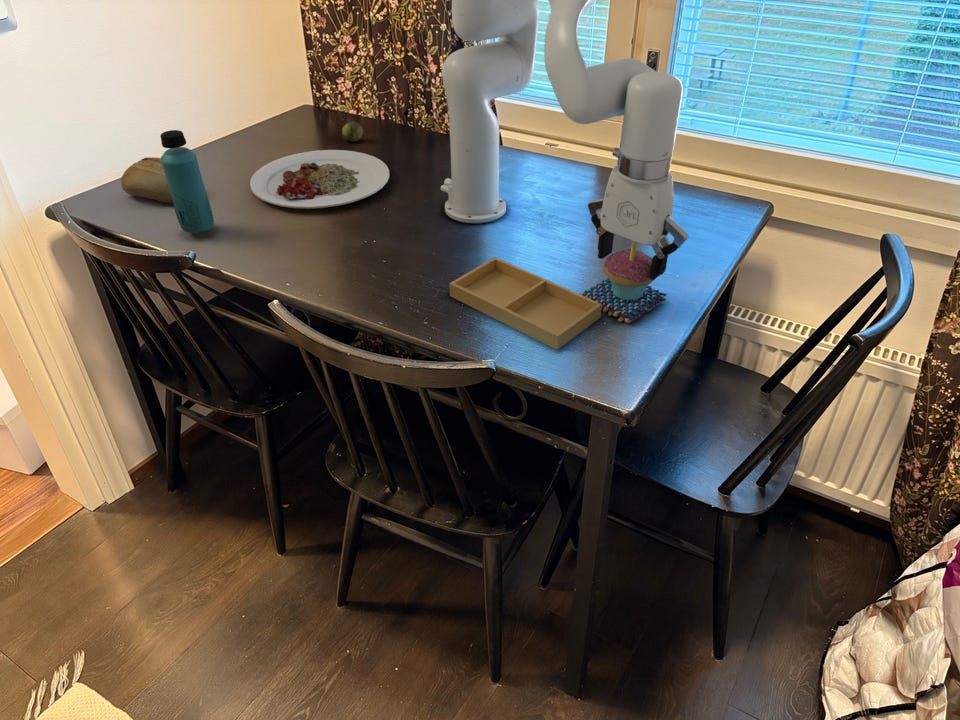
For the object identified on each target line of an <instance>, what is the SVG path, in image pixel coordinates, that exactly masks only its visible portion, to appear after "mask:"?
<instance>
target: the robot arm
mask: <svg viewBox="0 0 960 720" xmlns="http://www.w3.org/2000/svg"><path fill="white" fill-rule="evenodd" d="M596 1H597V0H548V3H549V6H550V14H549V18H548V21H547V24H546V28H545V34H544V44H543V45H544V48H543V52H544V53H543V54H544V66H545V70H546V74H547V77H548V79H549V83H550V85H551V88H552V90H553V92H554V95H555V98H556V100H557V102H558V105H559V106H560V108H561V110H562V111H563V113H564V114H565V116H566V117H567V118H568V119H570V120H571V121H572V122H574V123H576V124H579V125H590V124H593V123H597V122H601V121H605V120H608V119H612V118H615V117H621V116H623V119H622V129H621V138H620V146H619V147H617V146H616V147H614V148H613V149H612V156H613V157H615V158H616V159H617V163H616V165H615V166H613V167H612V169H611V172H610V174H609V177H608V180H607V183H606V184H607V185H606V187H605V191H604V196H603V198H600V199H595V200H592V201H591V202H589V203H588V204H587V208H588V211H589V214H590V216H591V218H590V221H591V222H592V224H593V226H594V227H595V229H596V230H595V233H596V235H597V236H598V242H597V250H598V251H597V258H598V259H599V260H603V259H604V258H606V257H607V256H608V255H609V256H610V254H613V253H612V252H613V247H614V240H615V235H616V236H618V237H621V238H624V239H625V240H626V239H627V240H629V241H631V242H632V241H634V242H636V244H640V245H643V246H648V247H651V248H652V250H653V252H654V254H655V255H654V256H652V257H651V258H652V263H651V269H650V276H649V278H650V279H652V280H654V279H655V280H656V279H657V278H658V277H660V276H661V275H663V274H664V273H665V272H666V270H667V264H668V259H669V258H668V257H669V256H670V255H671V254H673V253H675V252H676V251H678V250H680V248H681V247H682V245H684V244H685V242H686V241H688V239H689V238H690V237H689V234H688V233H687V232H686V231H685V229H683V228H682V227H681V226H680V224H678V223H677V222H676V221H675V220H674V219H673V218H672V217H673V208H674V179H673V178H674V177H673V175H672V174H670V172H671V166H672V160H673V154H674V148H675V142H676V138H677V137H676V135H677V129H678V124H679V117H680V112H681V105H682V100H683V92H684V87H683V86H684V85H683V83H682V81H681V80H680V79H679V78H678V77H676V76H675V75H672V74H670V73H666V72H658V71H657V70H655V69H653V68H651V67H650V66H649V65H647V64H646V63H644V62H643V61H641V60H639V59H636V58H630V57H629V58H621V59H617V60H613V61H608V62H602V63H599V64H595V65H590V66H587V64H586V62H585V60H584V56H583V54H582V51H581V49H580V45H579V39H578V25H579V20H580V17H581V14H582V13H583V12H585V11H586V10H587V9H588V8H590V7H591V6H592V5H593V4H594V3H595V2H596ZM451 20H452V27H453V30H454V32H455V34H456V36H458V38H460V39H461V40H463V41H466V42H479V41H481V42H482V41H487V40H492V39H498V41H493V42H488V43H482V44H476V45H472V46H471V45H470V46H467V47H463V48H460V49H457V50H455V51H454V52H452V53H450V54H449V55H448V56H447V57H446V59H445V60H444V62H443V66H442V69H441V77H442V79H441V80H442V85H443V88H444V93H445V98H446V105H447V112H448V123H449V125H448V126H449V145H450V147H449V149H450V175H451V178H449V177H447V178H445V180H444V181H443V184H441V186H440V191H441V192H443V193H445V194H447V196H448V198H447V200H446V201H445V203H444V212H445V214H446V216H448V217H449V218H451V219H452V220H455V221H456V222H460V223H464V224H465V223H466V224H484V223H490V222H493V221H496V220H498V219H500V218H502V217H503V216H504V215H505V214H506V212H507V203H506V201H505V200H504V199H503V198H502V197H501V196H500V124H499V122H500V121H499V119H498V117H497V115H496V114H495V112H494V110H493V109H492V107H491V105H490V102H491V101H492V100H495V99H497V98H501V97H502V98H503V97H506V96H511V95H515V94H517V93H519V92H522V91H524V90H525V89H527V88H528V86H529V85H530V84H531V81H532V79H533V76H534V71H535V70H534V69H535V63H536V62H535V61H536V50H537V41H538V32H539V21H540V5H539V0H451ZM669 234H670V235H671V236H672V237H673V241H672V242H671V241H670V240H669V238H668V235H669ZM655 280H654V281H655Z"/></svg>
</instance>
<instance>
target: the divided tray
mask: <svg viewBox="0 0 960 720" xmlns="http://www.w3.org/2000/svg"><path fill="white" fill-rule="evenodd" d="M449 297H450V298H452V299H454V300H457V301H459V302H460V303H463V304H465V305H467V306H469V307H471V308H473V309H474V310H477V311H478V312H480V313H483V314H484V315H486V316H489V317H491V318H492V319H494V320H497V321H499V322H500V323H503V324H505V325H506V326H509V327H510V328H512V329H515V330H517V331H519V332H521V333H522V334H524V335H526V336H528V337H530V338H532V339H535V340H537V341H538V342H540V343H543V344H545V345H546V346H548V347H551V348H552V349H554V350H556V351H557V350H559V349H560V348H562V347H563V346H564V345H566V344H567V343H569V342H570V341H571V340H572V339H573V338H575V337H576V336H578V335H579V334H580V333H582V332H583V331H584V330H586V329H587V328H588V327H589V326H591V325H593V324H594V323H595V322H597V321H598V320H599V319H600V318H602V317H601V316H602V310H603V309H602V304H601V303H598V302H596V301H594V300H591V299H589V298H587V297H585V296H582V294H580V293H578V292H575V291H573V290H571V289H569V288H566V287H564V286H562V285H559V284H557V283H555V282H553V281H551V280H549V279H546V278H544V277H542V276H539V275H537V274H535V273H532V272H531V271H528V270H526V269H524V268H521V267H519V266H517V265H515V264H512V263H510V262H508V261H505V260H503V259H501V258H498V257H496V256H494V257H492V258H491V259H489V260H487V261H486V262H484V263H482V264H481V265H479V266H477V267H475V268H474V269H472V270H470V271H468V272H466V273H464V274H463V275H461V276H460V277H458V278H456V279H454V280H452V281H451V282H449Z"/></svg>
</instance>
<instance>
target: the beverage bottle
mask: <svg viewBox="0 0 960 720" xmlns="http://www.w3.org/2000/svg"><path fill="white" fill-rule="evenodd" d="M160 140H161V146H162V148H165V149H166V150H165V151H164V152H163V154H162V155H161V157H160V158H161V159H160V160H161V163H162V166H163V169H164V172H165V176H166V179H167V183H168V185H167V186H169V190H170V193H171V196H172V198H171V199H173V203H172V204H173V207H174V208H173V209H174V212H175V216H176V218H177V222H178V225H179V227H180V228H181V231H183V232H185V233H188V234H198V233H203V232H206V231H208V230H211V228H213V226H214V224H215V223H214V222H215V218H214V215H213V210H212V207H211V202H210V199H209V197H208V193H207V189H206V185H205V183H204V181H203V177H202V173H201V169H200V165H199V162H198V158H197V154H196V152H195V151H194V150H192V149H190V148H188V147H184V146H186V144H187V140H186V138H185V135H184V132H183V131H181V130H180V129H179V130H178V129H172V130H167V131H164V132H162V133H160Z"/></svg>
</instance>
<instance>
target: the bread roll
mask: <svg viewBox="0 0 960 720" xmlns="http://www.w3.org/2000/svg"><path fill="white" fill-rule="evenodd" d="M160 159H161V157H144V158H141V159H140V160H138V161H137V162H134V163H132V164H131V165H130V166H129V167H127V168H126V169H125V171H124V172H123V174H122V176H121V177H120V184H121V188H122V190H123V191H124V192H125V193H126V194H127V195H130V196H133V197H138V198H139V197H140V198H143V199H150V200H154V201H160V202H162V203H163V202H164V203H170V204H174V203H173V199H171V198H172V196H171V193H170V190H169V186H167V185H168V183H167V179H166V176H165V172H164V169H163V166H162V163H161V160H160Z"/></svg>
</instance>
